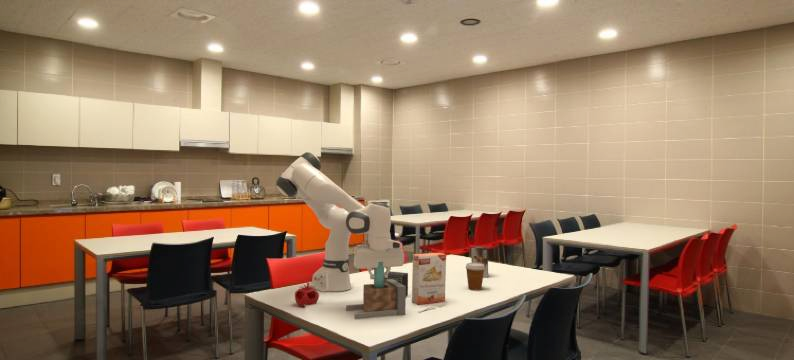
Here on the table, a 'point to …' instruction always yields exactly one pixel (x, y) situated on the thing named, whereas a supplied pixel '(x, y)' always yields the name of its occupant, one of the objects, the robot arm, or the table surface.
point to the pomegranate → (306, 296)
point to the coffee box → (480, 257)
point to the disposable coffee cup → (475, 275)
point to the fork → (434, 308)
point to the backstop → (398, 311)
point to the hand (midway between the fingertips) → (378, 278)
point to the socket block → (379, 298)
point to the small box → (399, 278)
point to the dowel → (379, 276)
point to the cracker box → (428, 278)
